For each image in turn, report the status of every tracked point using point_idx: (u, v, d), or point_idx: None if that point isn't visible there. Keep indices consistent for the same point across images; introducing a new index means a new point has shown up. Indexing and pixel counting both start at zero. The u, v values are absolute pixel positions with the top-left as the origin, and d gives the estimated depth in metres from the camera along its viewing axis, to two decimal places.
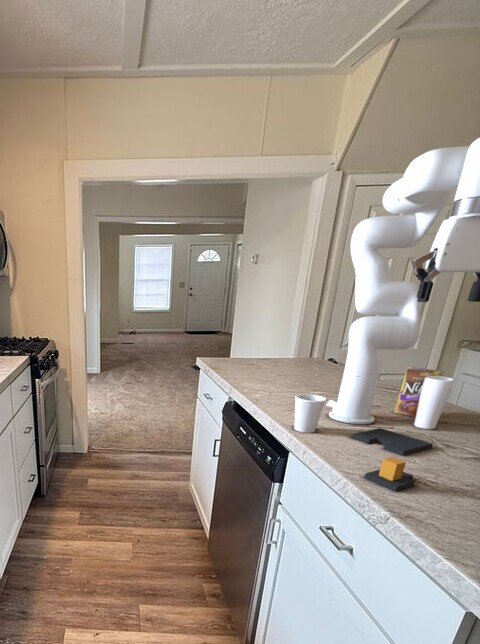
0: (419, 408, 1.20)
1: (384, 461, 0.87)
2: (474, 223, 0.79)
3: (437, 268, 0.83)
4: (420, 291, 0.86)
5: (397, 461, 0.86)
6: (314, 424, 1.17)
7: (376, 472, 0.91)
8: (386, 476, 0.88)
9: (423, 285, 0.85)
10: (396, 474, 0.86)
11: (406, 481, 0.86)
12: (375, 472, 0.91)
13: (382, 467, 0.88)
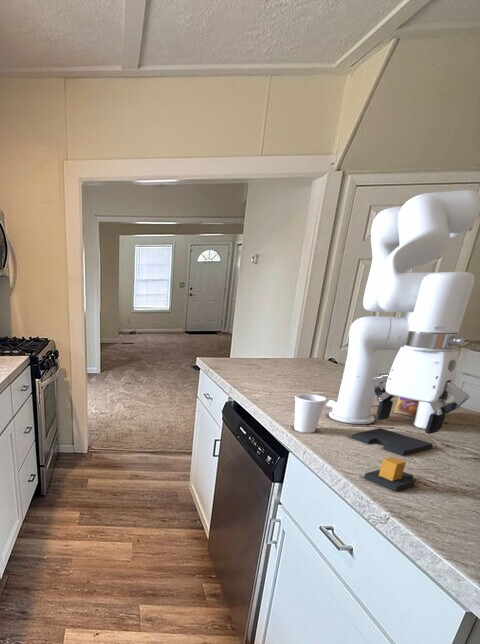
0: (419, 408, 1.20)
1: (384, 461, 0.87)
2: (414, 355, 0.78)
3: (386, 390, 0.85)
4: None
5: (397, 461, 0.86)
6: (314, 424, 1.17)
7: (376, 472, 0.91)
8: (386, 476, 0.88)
9: None
10: (396, 474, 0.86)
11: (406, 481, 0.86)
12: (375, 472, 0.91)
13: (382, 467, 0.88)
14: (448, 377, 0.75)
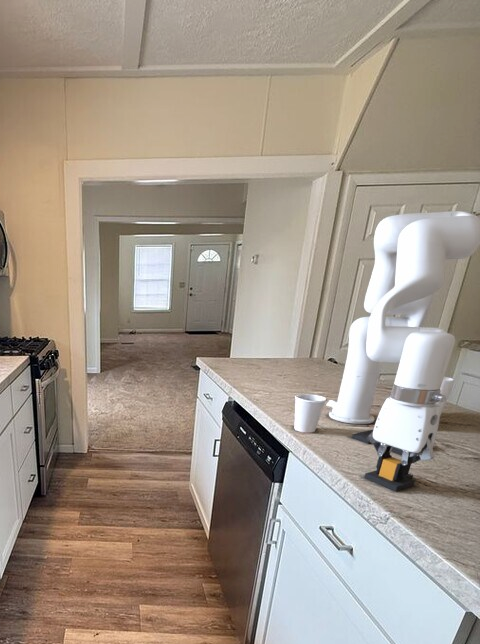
0: None
1: (384, 461, 0.87)
2: (398, 407, 0.82)
3: (373, 437, 0.89)
4: None
5: (397, 461, 0.86)
6: (314, 424, 1.17)
7: None
8: (386, 476, 0.88)
9: None
10: None
11: (406, 481, 0.86)
12: (375, 472, 0.91)
13: (382, 467, 0.88)
14: (430, 430, 0.79)
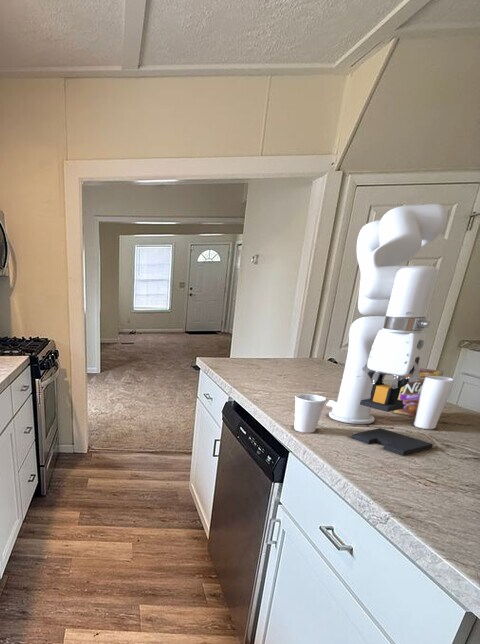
0: (419, 408, 1.20)
1: (377, 387, 0.99)
2: (389, 336, 0.93)
3: (367, 367, 1.00)
4: None
5: (389, 386, 0.98)
6: (314, 424, 1.17)
7: None
8: (379, 400, 0.99)
9: None
10: None
11: (397, 404, 0.98)
12: (369, 399, 1.02)
13: (375, 393, 1.00)
14: (417, 354, 0.91)
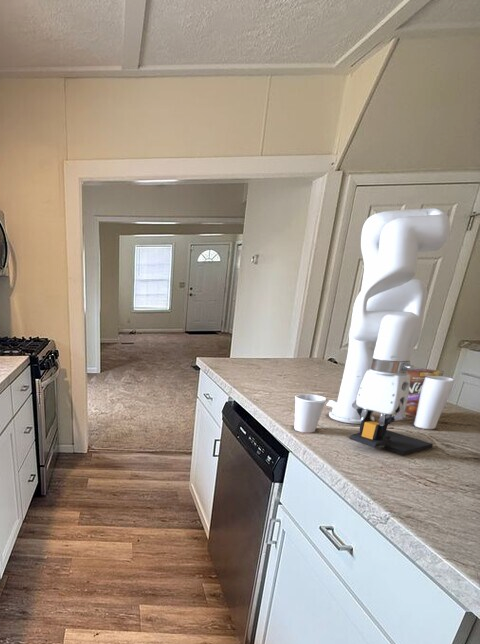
0: (419, 408, 1.20)
1: (365, 423, 1.04)
2: (376, 377, 0.99)
3: (356, 404, 1.06)
4: None
5: (376, 423, 1.03)
6: (314, 424, 1.17)
7: None
8: (367, 436, 1.05)
9: None
10: None
11: (384, 440, 1.03)
12: (358, 434, 1.08)
13: (364, 429, 1.05)
14: (402, 395, 0.96)
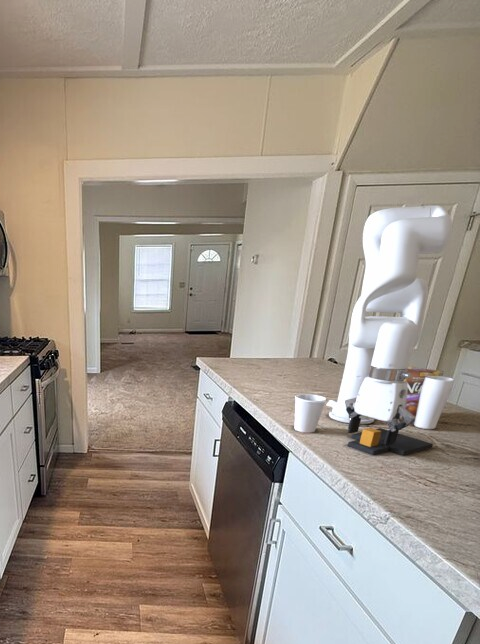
0: (419, 408, 1.20)
1: (363, 431, 1.05)
2: (374, 384, 1.00)
3: (354, 410, 1.07)
4: None
5: (374, 430, 1.04)
6: (314, 424, 1.17)
7: (357, 441, 1.08)
8: (365, 443, 1.05)
9: None
10: (373, 441, 1.04)
11: (382, 447, 1.04)
12: (357, 441, 1.08)
13: (362, 436, 1.06)
14: (399, 402, 0.97)
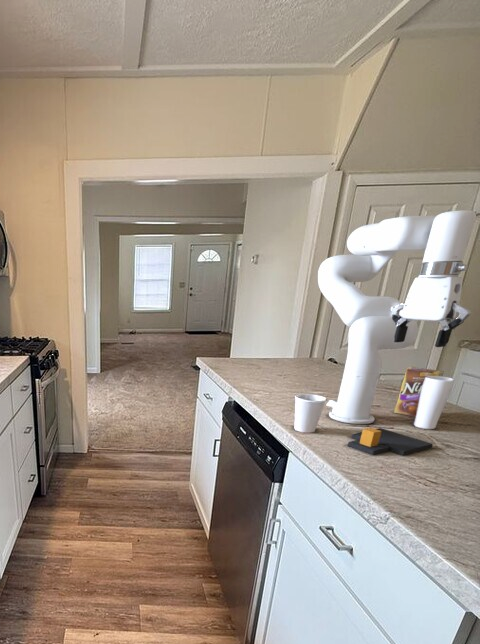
0: (419, 408, 1.20)
1: (363, 431, 1.05)
2: (426, 282, 0.96)
3: (402, 316, 1.03)
4: None
5: (374, 430, 1.04)
6: (314, 424, 1.17)
7: (357, 441, 1.08)
8: (365, 443, 1.05)
9: None
10: (373, 441, 1.04)
11: (382, 447, 1.04)
12: (357, 441, 1.08)
13: (362, 436, 1.06)
14: (454, 298, 0.93)
